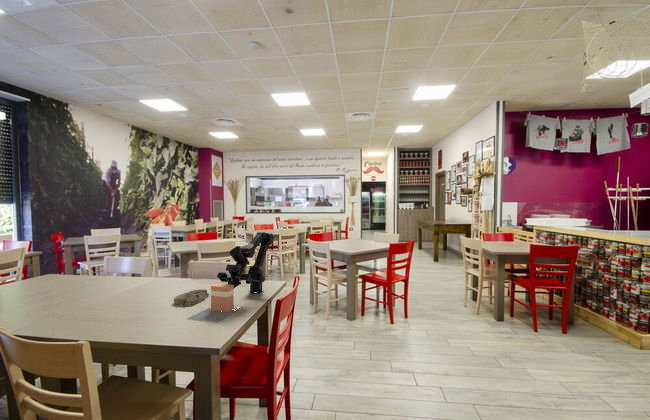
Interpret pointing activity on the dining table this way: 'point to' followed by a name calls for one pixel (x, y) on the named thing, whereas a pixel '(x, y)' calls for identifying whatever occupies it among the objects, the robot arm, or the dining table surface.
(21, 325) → the dining table surface
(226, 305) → the tall box
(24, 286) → the dining table surface
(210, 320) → the mat
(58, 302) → the dining table surface
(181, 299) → the weathered wood piece
